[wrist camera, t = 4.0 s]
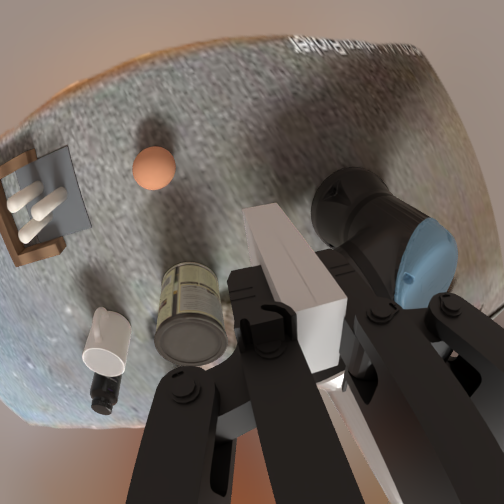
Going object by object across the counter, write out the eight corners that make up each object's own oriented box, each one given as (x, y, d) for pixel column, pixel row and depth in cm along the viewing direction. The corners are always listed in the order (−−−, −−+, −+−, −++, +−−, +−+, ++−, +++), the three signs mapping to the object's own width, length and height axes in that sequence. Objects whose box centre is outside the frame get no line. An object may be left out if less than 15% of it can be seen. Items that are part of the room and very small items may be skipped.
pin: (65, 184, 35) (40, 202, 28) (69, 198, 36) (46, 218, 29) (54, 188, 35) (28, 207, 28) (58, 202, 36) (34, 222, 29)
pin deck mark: (67, 146, 32) (67, 146, 32) (92, 227, 39) (91, 227, 39) (15, 170, 31) (15, 170, 31) (40, 242, 38) (40, 243, 38)
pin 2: (50, 205, 36) (26, 226, 29) (55, 218, 37) (32, 241, 30) (40, 209, 36) (16, 230, 29) (45, 222, 37) (22, 245, 30)
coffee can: (214, 310, 52) (221, 368, 40) (160, 305, 49) (154, 363, 37) (223, 264, 47) (234, 320, 35) (163, 257, 45) (154, 313, 33)
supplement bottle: (119, 362, 55) (112, 405, 45) (124, 379, 58) (119, 419, 48) (93, 359, 54) (83, 400, 43) (99, 375, 57) (91, 414, 46)
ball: (172, 139, 36) (168, 144, 31) (181, 178, 39) (178, 189, 34) (133, 149, 35) (123, 156, 30) (142, 187, 38) (134, 200, 33)
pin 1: (41, 178, 34) (14, 194, 26) (46, 191, 35) (20, 210, 27) (32, 182, 33) (4, 199, 26) (36, 195, 35) (10, 215, 27)
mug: (85, 293, 45) (69, 330, 36) (124, 294, 47) (113, 333, 38) (100, 337, 51) (90, 374, 42) (135, 339, 52) (129, 378, 43)
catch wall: (34, 148, 31) (25, 151, 28) (66, 245, 40) (59, 254, 37) (-9, 172, 30) (-18, 177, 27) (22, 259, 39) (15, 267, 36)
